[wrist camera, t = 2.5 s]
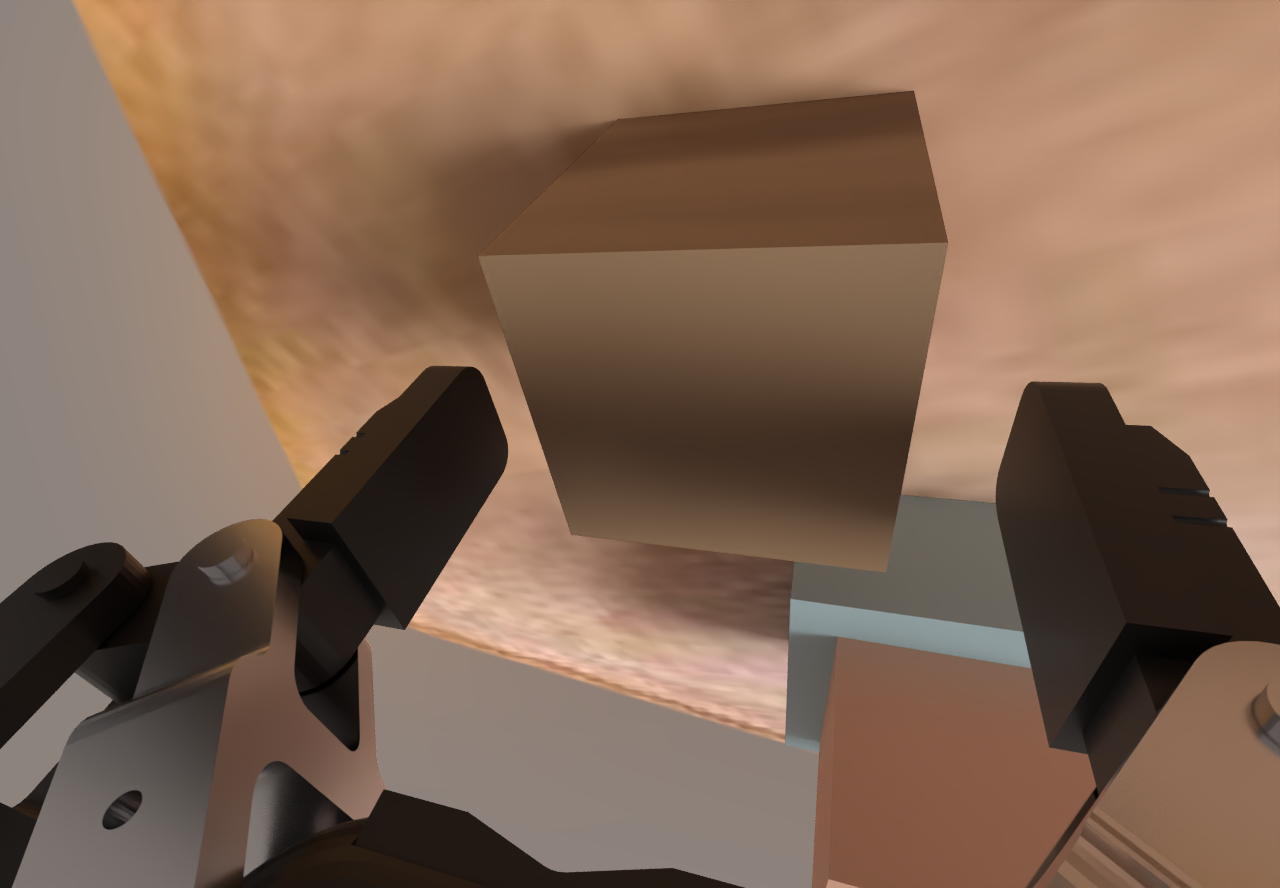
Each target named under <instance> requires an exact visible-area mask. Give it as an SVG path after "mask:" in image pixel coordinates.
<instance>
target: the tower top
mask: <svg viewBox="0 0 1280 888" xmlns="http://www.w3.org/2000/svg"><path fill="white" fill-rule="evenodd" d="M817 783H818V784H817V801H816V820H815V821H816V822H815V839H814V858H813V876H812V888H1024V887H1025V886H1026V884H1027V883H1028V881H1029V880H1030V878H1031V877H1032V876H1033V874H1034V873H1035V871H1036V870H1037V868H1038V867H1039V865H1040V864H1041V863H1042V861H1043V860H1044V858H1045V857H1046V855H1047V854H1048V853H1049V851H1050V850H1051V848H1052V847H1053V845H1054V844H1055V843H1056V841H1057V840H1058V838H1059V837H1060V835H1061V834H1062V833H1063V831H1064V830H1065V828H1066V827H1067V825H1068V824H1069V823H1070V821H1071V820H1072V818H1073V817H1074V815H1075V814H1076V813H1077V811H1078V810H1079V808H1080V807H1081V805H1082V804H1083V802H1084V801H1085V800H1086V798H1087V797H1088V795H1089V794H1090V793H1091V791H1092V790H1093V789H1094V788H1095V786H1096V783H1095V779H1094V775H1093V772H1092V768H1091V764H1090V760H1089V757H1088V754H1083V753H1077V752H1071V751H1066V750H1060V749H1055V748H1049V744H1048V740H1047V735H1046V731H1045V727H1044V722H1043V718H1042V713H1041V709H1040V704H1039V700H1038V695H1037V691H1036V686H1035V682H1034V678H1033V673H1032V669H1031V668H1025V667H1019V666H1013V665H1007V664H1001V663H995V662H989V661H983V660H976V659H970V658H964V657H958V656H952V655H946V654H940V653H934V652H928V651H922V650H916V649H910V648H904V647H898V646H892V645H886V644H880V643H874V642H868V641H862V640H856V639H850V638H844V637H837V643H836V648H835V654H834V660H833V666H832V672H831V678H830V684H829V690H828V696H827V702H826V707H825V713H824V719H823V725H822V731H821V737H820V744H819V765H818V782H817Z"/></svg>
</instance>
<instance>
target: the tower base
mask: <svg viewBox="0 0 1280 888" xmlns="http://www.w3.org/2000/svg"><path fill="white" fill-rule="evenodd" d="M837 637H844V638H850V639H856V640H862V641H868V642H874V643H880V644H886V645H892V646H898V647H904V648H910V649H916V650H922V651H928V652H934V653H940V654H946V655H952V656H958V657H964V658H970V659H976V660H983V661H989V662H995V663H1001V664H1007V665H1013V666H1019V667H1025V668H1031V664H1030V660H1029V655H1028V651H1027V646H1026V642H1025V637H1024V633H1023V629H1022V624H1021V620H1020V615H1019V611H1018V606H1017V602H1016V597H1015V593H1014V588H1013V584H1012V580H1011V575H1010V571H1009V566H1008V562H1007V557H1006V553H1005V548H1004V544H1003V539H1002V535H1001V531H1000V526H999V522H998V517H997V510H996V503H985V502H974V501H963V500H952V499H941V498H930V497H919V496H908V495H900V500H899V506H898V511H897V516H896V521H895V527H894V532H893V537H892V543H891V548H890V553H889V559H888V564H887V569H886V572H878V571H869V570H861V569H853V568H845V567H836V566H828V565H820V564H811V563H803V562H795V561H794V569H793V579H792V589H791V598H790V624H789V652H788V679H787V706H786V733H785V745H787V746H791V747H796V748H801V749H806V750H810V751H815V752H819V744H820V737H821V731H822V725H823V719H824V713H825V707H826V702H827V696H828V690H829V684H830V678H831V672H832V666H833V660H834V654H835V648H836V643H837Z"/></svg>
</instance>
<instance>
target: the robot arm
mask: <svg viewBox="0 0 1280 888" xmlns="http://www.w3.org/2000/svg"><path fill="white" fill-rule="evenodd" d="M507 458H508V444H507V439H506V436H505V433H504V430H503V428H502V425H501V422H500V419H499V417H498V414H497V411H496V409H495V406H494V403H493V401H492V398H491V395H490V393H489V390H488V387H487V385H486V382H485V379H484V377H483V375H482V374H481V372H480V371H479V370H478V369H476V368H474V367H460V366H430V367H428V368H426V369H425V370H424V371H423V372H422V373H421V374H420V375H419V377H418V378H417V379H416V380H415V381H414V382H413V383H412V384H411V385H410V386H409V387H408V388H407V389H406V390H405V391H404V393H403V394H402V395H401V396H400V397H399V398H397V399H395V400H394V401H392V402H391V403H389V404H388V405H386V406H385V407H383V408H382V409H380V410H378V411H377V412H376V413H375V414H374V415H373V416H372V417H371V418H370V419H369V420H368V421H367V422H366V423H365V424H364V425H363V426H362V427H361V428H360V430H359V431H358V432H357V436H356V437H352V438H351V439H350V440H349V441H348V442H347V443H346V444H345V445H344V446H343V447H342V448H341V449H340V455H335V456H334V457H333V458H332V459H331V460H330V461H329V462H328V463H327V464H326V465H325V466H324V467H323V468H322V469H321V470H320V472H319V473H318V474H317V475H316V476H315V477H314V478H313V479H312V480H311V481H310V482H309V483H308V484H307V485H306V486H305V487H304V488H303V489H302V490H301V492H300V493H299V494H298V495H297V496H296V497H295V498H294V499H293V500H292V501H291V502H290V503H289V504H288V505H287V506H286V507H285V508H284V509H283V511H282V512H281V513H280V514H279V515H278V516H277V517H276V518H275V519H274V520H273V521H270V520H266V519H251V520H247V521H242V522H238V523H235V524H232V525H230V526H227V527H225V528H223V529H221V530H219V531H217V532H215V533H213V534H211V535H210V536H208V537H206V538H205V539H204V540H202V541H201V542H199V543H198V544H197V545H195V546H194V547H193V548H192V549H191V550H190V551H189V552H188V553H187V554H186V555H185V556H184V557H183V558H182V559H181V560H180V561H179V562H174V563H168V564H161V565H155V566H150V567H143V566H142V565H141V564H140V563H139V562H138V561H137V560H136V559H135V558H134V557H133V556H132V555H131V554H130V553H129V552H128V551H126V549H124V547H122V546H121V545H119V544H117V543H112V542H111V543H110V542H109V543H99V544H94V545H90V546H86V547H83V548H81V549H78V550H75V551H73V552H71V553H69V554H66V555H65V556H63V557H61V558H59V559H57V560H55V561H54V562H52V563H50V564H49V565H47V566H46V567H44V568H43V569H41V570H40V571H38V572H37V573H36V574H35V575H33V576H32V577H31V578H30V579H28V580H27V581H26V582H25V583H24V584H23V585H21V586H20V587H19V588H18V589H17V590H16V591H14V592H13V593H12V594H11V595H10V596H8V597H7V598H6V599H5V600H4V601H3V602H1V603H0V749H1V748H2V747H3V746H4V745H5V743H6V742H7V741H8V740H9V739H10V738H11V737H12V736H13V735H14V734H15V733H16V732H17V731H18V730H19V729H20V728H21V727H22V726H23V725H24V724H25V723H26V722H27V721H28V720H29V719H30V718H31V717H32V716H33V714H34V713H35V712H36V711H37V710H38V709H39V708H40V707H41V706H42V705H43V704H44V703H45V702H46V701H47V700H48V699H49V698H50V697H51V696H52V695H53V694H54V693H55V691H57V690H58V689H59V688H60V687H61V685H63V683H64V682H65V681H66V680H67V679H68V678H69V677H70V676H71V675H72V674H73V673H74V672H75V673H76V674H78V675H79V676H80V677H82V678H83V679H85V680H86V681H87V682H89V683H90V684H92V685H93V686H94V687H96V688H97V689H99V690H100V691H101V692H103V693H104V694H105V695H107V696H108V697H110V698H111V699H112V700H113V701H112V702H111V703H110V704H109V705H108V706H107V707H106V709H105V710H104V711H102V712H99V713H96V714H94V715H92V716H90V717H87V718H86V719H85V720H83V721H82V722H81V723H80V724H79V725H78V726H77V727H76V728H75V729H74V731H73V732H72V733H71V735H70V736H69V739H68V741H67V743H66V745H65V747H64V750H63V753H62V756H61V758H60V761H59V762H58V763H57V764H56V765H55V766H54V768H52V770H51V771H50V772H49V773H48V774H47V775H46V777H45V778H44V779H43V780H42V781H41V782H40V783H39V784H38V786H37V787H36V788H35V789H34V790H33V791H32V792H31V793H30V794H29V795H28V796H27V797H26V798H25V799H24V800H23V801H22V802H20V803H19V804H17V805H16V806H14V807H13V808H11V807H9V806H6V805H4V804H2V803H0V888H744V887H740V886H736V885H733V884H729V883H725V882H721V881H718V880H714V879H711V878H707V877H703V876H700V875H696V874H692V873H688V872H685V871H681V870H678V869H674V868H665V869H640V870H616V871H591V872H569V873H565V872H556V871H553V870H550V869H548V868H547V867H545V866H543V865H542V864H540V863H539V862H538V861H536V860H535V859H533V858H532V857H531V856H529V855H528V854H526V853H525V852H523V851H522V850H521V849H519V848H518V847H516V846H515V845H514V844H512V843H511V842H509V841H508V840H507V839H505V838H504V837H502V836H501V835H499V834H498V833H497V832H495V831H494V830H492V829H491V828H490V827H488V826H487V825H485V824H484V823H482V822H481V821H480V820H478V819H477V818H476V817H474V816H473V815H471V814H470V813H468V812H465V811H462V810H458V809H454V808H451V807H447V806H444V805H440V804H436V803H433V802H429V801H425V800H422V799H418V798H414V797H411V796H407V795H403V794H400V793H396V792H392V791H388V790H387V788H386V786H385V784H384V781H383V779H382V777H381V774H380V771H379V767H378V763H377V756H376V735H375V713H374V689H373V668H372V651H371V647H370V644H369V642H368V641H367V640H366V639H365V636H366V635H367V633H368V632H369V630H370V629H371V627H372V626H373V625H374V624H375V625H380V626H386V627H392V628H397V629H402V630H405V629H406V627H407V626H408V624H409V622H410V621H411V619H412V618H413V616H414V614H415V613H416V611H417V610H418V608H419V606H420V605H421V603H422V602H423V600H424V599H425V597H426V595H427V594H428V592H429V591H430V589H431V587H432V586H433V584H434V583H435V581H436V579H437V578H438V576H439V575H440V573H441V571H442V570H443V568H444V567H445V565H446V563H447V562H448V560H449V559H450V557H451V555H452V554H453V552H454V551H455V549H456V547H457V546H458V544H459V543H460V541H461V540H462V538H463V536H464V535H465V533H466V532H467V530H468V528H469V527H470V525H471V524H472V522H473V520H474V519H475V517H476V516H477V514H478V512H479V511H480V509H481V508H482V506H483V504H484V503H485V501H486V500H487V498H488V496H489V495H490V493H491V492H492V490H493V488H494V487H495V485H496V484H497V482H498V481H499V479H500V477H501V476H502V474H503V472H504V470H505V467H506V464H507ZM1209 491H1210V490H1209V488H1208V486H1207V485H1206V483H1205V481H1204V480H1203V478H1202V476H1201V475H1200V473H1199V471H1198V470H1197V468H1196V466H1195V465H1194V463H1193V461H1192V460H1191V458H1190V456H1189V455H1188V454H1186V453H1185V452H1184V451H1182V450H1181V449H1180V448H1179V447H1177V446H1176V445H1175V444H1173V443H1172V442H1171V441H1170V440H1168V439H1167V438H1166V437H1164V436H1163V435H1162V434H1160V433H1159V432H1158V431H1157V430H1155V429H1154V428H1153V427H1151V426H1139V425H1126V424H1125V423H1124V421H1123V419H1122V417H1121V415H1120V413H1119V411H1118V409H1117V407H1116V405H1115V403H1114V401H1113V399H1112V397H1111V395H1110V393H1109V391H1108V390H1107V388H1106V387H1105V386H1104V385H1103V384H1101V383H1072V382H1030V383H1029V384H1028V385H1027V386H1026V388H1025V389H1024V392H1023V394H1022V397H1021V400H1020V403H1019V406H1018V410H1017V413H1016V416H1015V420H1014V423H1013V426H1012V429H1011V433H1010V436H1009V439H1008V442H1007V446H1006V449H1005V452H1004V456H1003V459H1002V462H1001V465H1000V469H999V473H998V478H997V485H996V510H997V517H998V522H999V526H1000V531H1001V535H1002V539H1003V544H1004V548H1005V553H1006V557H1007V562H1008V566H1009V571H1010V575H1011V580H1012V584H1013V588H1014V593H1015V597H1016V602H1017V606H1018V611H1019V615H1020V620H1021V624H1022V629H1023V633H1024V637H1025V642H1026V646H1027V651H1028V655H1029V660H1030V664H1031V669H1032V673H1033V678H1034V682H1035V686H1036V691H1037V695H1038V700H1039V704H1040V709H1041V713H1042V718H1043V722H1044V727H1045V731H1046V735H1047V740H1048V744H1049V748H1055V749H1060V750H1066V751H1071V752H1077V753H1083V754H1088V757H1089V760H1090V764H1091V768H1092V772H1093V775H1094V779H1095V783H1096V786H1095V788H1094V789H1093V790H1092V791H1091V793H1090V794H1089V795H1088V797H1087V798H1086V800H1085V801H1084V802H1083V804H1082V805H1081V807H1080V808H1079V810H1078V811H1077V813H1076V814H1075V815H1074V817H1073V818H1072V820H1071V821H1070V823H1069V824H1068V825H1067V827H1066V828H1065V830H1064V831H1063V833H1062V834H1061V835H1060V837H1059V838H1058V840H1057V841H1056V843H1055V844H1054V845H1053V847H1052V848H1051V850H1050V851H1049V853H1048V854H1047V855H1046V857H1045V858H1044V860H1043V861H1042V863H1041V864H1040V865H1039V867H1038V868H1037V870H1036V871H1035V873H1034V874H1033V876H1032V877H1031V878H1030V880H1029V881H1028V883H1027V884H1026V886H1025V887H1024V888H1280V607H1279V605H1278V604H1277V602H1276V600H1275V599H1274V597H1273V595H1272V594H1271V592H1270V590H1269V588H1268V587H1267V585H1266V583H1265V582H1264V580H1263V578H1262V577H1261V575H1260V573H1259V572H1258V570H1257V568H1256V567H1255V565H1254V563H1253V562H1252V560H1251V558H1250V557H1249V555H1248V553H1247V552H1246V550H1245V548H1244V547H1243V545H1242V543H1241V542H1240V540H1239V538H1238V537H1237V535H1236V533H1235V532H1234V530H1233V528H1231V527H1227V518H1226V516H1225V515H1224V513H1223V511H1222V510H1221V508H1220V506H1219V505H1218V503H1217V501H1216V500H1215V498H1214V497H1209Z"/></svg>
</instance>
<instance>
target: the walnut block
mask: <svg viewBox="0 0 1280 888" xmlns="http://www.w3.org/2000/svg"><path fill="white" fill-rule="evenodd" d="M947 246H948V239H947V235H946V231H945V226H944V222H943V217H942V213H941V209H940V204H939V200H938V195H937V191H936V186H935V182H934V178H933V173H932V169H931V164H930V160H929V156H928V151H927V147H926V142H925V138H924V133H923V129H922V125H921V120H920V116H919V111H918V107H917V103H916V98H915V94H914V91H908V92H898V93H888V94H877V95H867V96H856V97H846V98H836V99H825V100H815V101H805V102H794V103H784V104H773V105H763V106H753V107H742V108H732V109H722V110H711V111H701V112H690V113H680V114H670V115H659V116H649V117H638V118H628V119H618V120H617V121H616V122H615V123H614V124H613V125H612V126H611V127H610V128H609V129H608V130H607V131H606V132H605V133H604V134H603V135H602V136H601V137H600V138H599V139H598V140H597V141H596V142H595V143H594V144H593V145H592V146H590V147H589V148H588V149H587V150H586V151H585V152H584V153H583V154H582V155H581V156H580V157H579V158H578V159H577V160H576V161H575V162H574V163H573V164H572V165H571V166H570V167H569V168H568V169H567V170H566V171H565V172H564V173H563V174H562V175H561V176H560V177H558V178H557V179H556V180H555V181H554V182H553V183H552V184H551V185H550V186H549V187H548V188H547V189H546V190H545V191H544V192H543V193H542V194H541V195H540V196H539V197H538V198H537V199H536V200H535V201H534V202H533V203H532V204H531V205H530V206H529V207H528V208H526V209H525V210H524V211H523V212H522V213H521V214H520V215H519V216H518V217H517V218H516V219H515V220H514V221H513V222H512V223H511V224H510V225H509V226H508V227H507V228H506V229H505V230H504V231H503V232H502V233H501V234H500V235H499V236H498V237H497V238H496V239H494V240H493V241H492V242H491V243H490V244H489V245H488V246H487V247H486V248H485V249H484V250H483V251H482V252H481V253H480V254H479V255H478V259H479V262H480V265H481V268H482V271H483V274H484V277H485V280H486V283H487V285H488V288H489V291H490V294H491V297H492V300H493V303H494V306H495V309H496V312H497V315H498V318H499V321H500V324H501V327H502V330H503V333H504V336H505V339H506V342H507V345H508V348H509V351H510V354H511V357H512V360H513V363H514V366H515V369H516V372H517V375H518V378H519V381H520V384H521V387H522V390H523V393H524V396H525V398H526V401H527V404H528V407H529V410H530V413H531V416H532V419H533V422H534V425H535V428H536V431H537V434H538V437H539V440H540V443H541V446H542V449H543V452H544V455H545V458H546V461H547V464H548V467H549V470H550V473H551V476H552V479H553V482H554V485H555V488H556V491H557V494H558V497H559V500H560V503H561V506H562V508H563V511H564V514H565V517H566V520H567V523H568V526H569V529H570V532H571V535H579V536H587V537H595V538H604V539H612V540H620V541H629V542H637V543H645V544H654V545H662V546H670V547H678V548H687V549H695V550H703V551H712V552H720V553H728V554H737V555H745V556H753V557H762V558H770V559H778V560H786V561H795V562H803V563H811V564H820V565H828V566H836V567H845V568H853V569H861V570H869V571H878V572H886V569H887V564H888V559H889V553H890V548H891V543H892V537H893V532H894V527H895V521H896V516H897V511H898V506H899V500H900V495H901V490H902V484H903V479H904V474H905V469H906V463H907V458H908V453H909V447H910V442H911V437H912V432H913V426H914V421H915V416H916V410H917V405H918V400H919V395H920V389H921V384H922V379H923V373H924V368H925V363H926V358H927V352H928V347H929V342H930V336H931V331H932V326H933V321H934V315H935V310H936V305H937V299H938V294H939V289H940V283H941V278H942V273H943V268H944V262H945V257H946V252H947Z"/></svg>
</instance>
